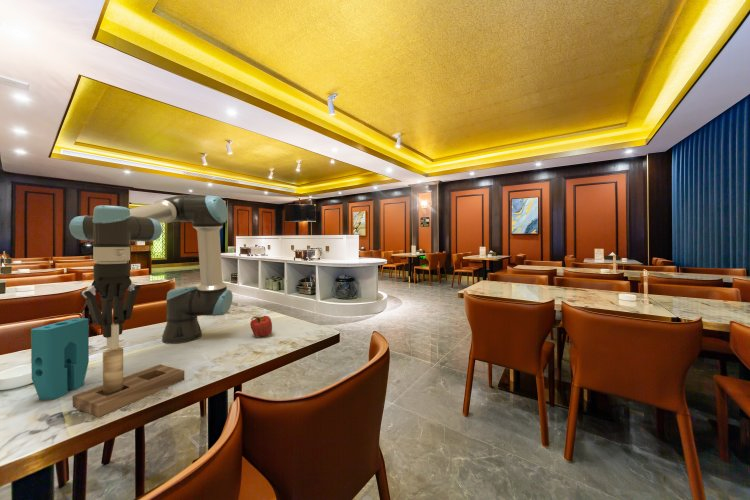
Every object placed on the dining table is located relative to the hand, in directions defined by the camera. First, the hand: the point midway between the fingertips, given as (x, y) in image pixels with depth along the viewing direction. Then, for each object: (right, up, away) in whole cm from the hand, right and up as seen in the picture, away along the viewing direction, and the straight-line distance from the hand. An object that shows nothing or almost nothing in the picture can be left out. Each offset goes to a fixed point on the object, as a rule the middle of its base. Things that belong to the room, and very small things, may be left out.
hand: (112, 347), depth 81 cm
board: (+2, -15, +5) cm, 16 cm away
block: (-19, -15, +5) cm, 24 cm away
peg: (0, -15, 0) cm, 15 cm away
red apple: (+18, -14, +57) cm, 62 cm away
